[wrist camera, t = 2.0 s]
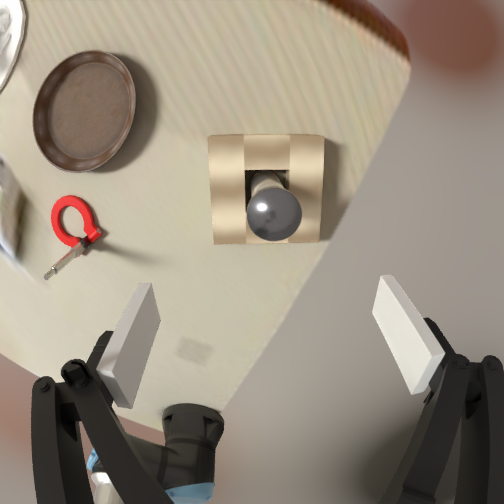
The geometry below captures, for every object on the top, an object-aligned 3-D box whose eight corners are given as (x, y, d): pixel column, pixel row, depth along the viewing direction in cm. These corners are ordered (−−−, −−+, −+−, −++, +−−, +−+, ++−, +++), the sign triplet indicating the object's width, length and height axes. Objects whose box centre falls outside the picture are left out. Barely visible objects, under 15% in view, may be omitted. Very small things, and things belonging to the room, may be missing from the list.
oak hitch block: (313, 232, 43) (318, 241, 39) (216, 234, 42) (214, 244, 39) (317, 134, 36) (324, 136, 33) (211, 135, 36) (207, 137, 33)
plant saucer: (39, 74, 30) (28, 73, 27) (139, 38, 30) (131, 33, 27) (51, 178, 38) (40, 182, 35) (149, 157, 37) (142, 161, 35)
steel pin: (284, 203, 41) (300, 240, 29) (246, 203, 40) (247, 242, 29) (284, 166, 38) (303, 188, 27) (245, 166, 38) (246, 189, 26)
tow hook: (47, 215, 40) (78, 257, 43) (-2, 244, 28) (36, 297, 32) (73, 183, 38) (107, 229, 42) (22, 206, 27) (64, 266, 30)
